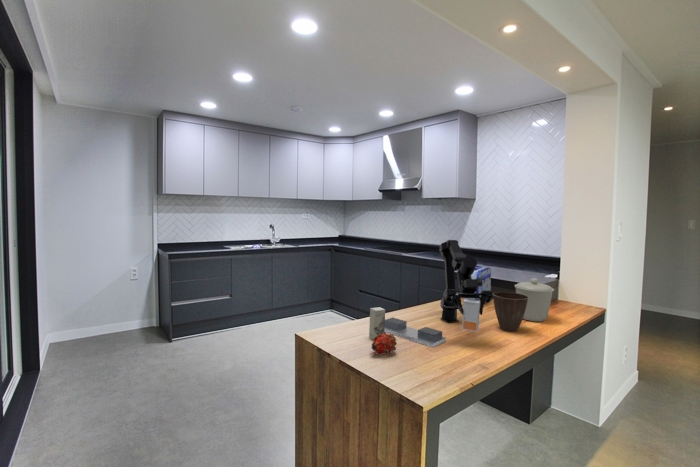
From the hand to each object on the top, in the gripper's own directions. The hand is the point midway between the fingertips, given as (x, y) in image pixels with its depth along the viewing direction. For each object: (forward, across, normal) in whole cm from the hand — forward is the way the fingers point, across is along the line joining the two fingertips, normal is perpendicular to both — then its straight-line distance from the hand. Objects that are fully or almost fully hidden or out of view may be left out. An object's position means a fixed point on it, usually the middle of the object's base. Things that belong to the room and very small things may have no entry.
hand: (472, 314), depth 143 cm
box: (+6, -37, +14) cm, 40 cm away
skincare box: (+4, 0, +6) cm, 7 cm away
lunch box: (-41, +26, +61) cm, 79 cm away
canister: (-20, +44, +39) cm, 62 cm away
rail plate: (+2, -22, +17) cm, 28 cm away
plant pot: (-7, +25, +26) cm, 37 cm away
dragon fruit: (+16, -36, +2) cm, 39 cm away
